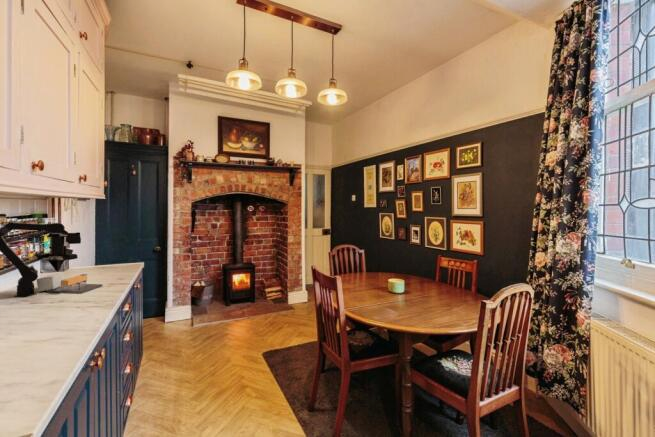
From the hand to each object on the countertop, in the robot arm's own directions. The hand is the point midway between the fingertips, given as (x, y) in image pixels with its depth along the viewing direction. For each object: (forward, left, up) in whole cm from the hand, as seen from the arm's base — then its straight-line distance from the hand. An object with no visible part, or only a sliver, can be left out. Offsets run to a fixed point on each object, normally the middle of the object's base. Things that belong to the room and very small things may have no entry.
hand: (57, 271), depth 173 cm
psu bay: (+5, -7, -12) cm, 14 cm away
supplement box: (+9, +9, -8) cm, 15 cm away
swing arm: (+5, -7, -7) cm, 11 cm away
